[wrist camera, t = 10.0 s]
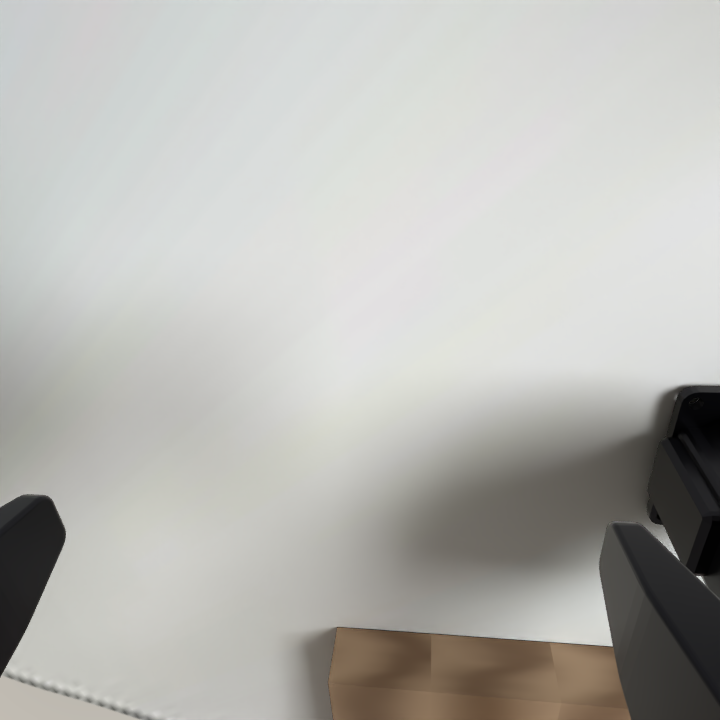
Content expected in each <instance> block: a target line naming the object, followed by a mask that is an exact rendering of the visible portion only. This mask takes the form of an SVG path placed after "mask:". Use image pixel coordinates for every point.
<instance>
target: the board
mask: <svg viewBox="0 0 720 720" xmlns="http://www.w3.org/2000/svg"><path fill="white" fill-rule="evenodd" d="M328 687H329V694H330V701H331V708H332V714H333V720H631V717H630V714H629V710H628V707H627V704H626V700H625V697H624V694H623V690H622V686H621V682H620V679H619V674H618V669H617V664H616V659H615V654H614V649H613V647H603V646H590V645H576V644H562V643H548V642H534V641H520V640H506V639H493V638H479V637H465V636H451V635H437V634H423V633H409V632H396V631H382V630H368V629H354V628H340V627H337V631H336V637H335V644H334V650H333V656H332V662H331V668H330V674H329V680H328Z"/></svg>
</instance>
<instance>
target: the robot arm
mask: <svg viewBox="0 0 720 720" xmlns="http://www.w3.org/2000/svg"><path fill="white" fill-rule="evenodd" d="M695 398H699V399H698V401H696V402H695V403H691V404H690V403H689V402H690V401H691V400H693V399H695ZM647 491H648V493H649V495H650V498H649V501H648V505H647V513H648V515H649V518H650V520H651V521H652V522H653V523H655V524H660V525H664V527H665V529H666V532H667V534H668V536H669V538H670V540H671V542H672V545H673V547H674V549H675V551H676V553H677V555H678V557H679V560H680V561H679V560H678V559H677V558H676V557H675V556H674V555H673V554H672V553H671V552H670V551H669V550H668V549H667V548H666V547H665V546H664V545H663V544H662V543H661V542H660V541H658V540H657V539H656V538H655V537H654V536H653V535H652V534H651V533H650V532H649V531H648V530H647V529H646V528H645V527H644V526H643V525H641V524H639V523H637V522H623V521H613V522H610V523H609V525H608V526H607V529H606V533H605V538H604V542H603V546H602V550H601V555H600V560H599V570H600V578H601V583H602V589H603V594H604V600H605V605H606V610H607V616H608V621H609V627H610V632H611V638H612V643H613V649H614V654H615V659H616V664H617V669H618V674H619V679H620V682H621V686H622V690H623V694H624V697H625V700H626V704H627V707H628V710H629V714H630V717H631V720H720V386H692V387H688V388H686V389H684V390H682V391H681V392H680V393H679V395H678V397H677V400H676V404H675V407H674V411H673V414H672V418H671V422H670V425H669V429H668V433H667V436H666V437H665V438H664V439H663V440H662V441H661V442H660V443H659V447H658V451H657V454H656V458H655V462H654V465H653V469H652V473H651V476H650V480H649V484H648V488H647ZM65 538H66V531H65V527H64V525H63V523H62V520H61V518H60V516H59V514H58V511H57V509H56V507H55V505H54V502H53V501H52V499H51V498H50V497H48V496H46V495H32V494H27V495H22V496H20V497H18V498H16V499H14V500H12V501H11V502H9V503H7V504H5V505H4V506H2V507H0V677H1V675H2V673H3V671H4V670H5V668H6V666H7V664H8V662H9V661H10V659H11V657H12V655H13V653H14V652H15V650H16V648H17V646H18V644H19V642H20V640H21V639H22V637H23V635H24V633H25V631H26V629H27V627H28V625H29V622H30V620H31V618H32V616H33V614H34V612H35V609H36V607H37V605H38V602H39V600H40V598H41V596H42V593H43V591H44V589H45V586H46V584H47V582H48V580H49V577H50V575H51V573H52V571H53V568H54V566H55V564H56V561H57V559H58V557H59V555H60V552H61V550H62V548H63V545H64V543H65ZM696 576H701V577H702V579H703V581H704V583H705V584H704V583H703V582H702V581H700V580H699V579H698V578H697V577H696Z"/></svg>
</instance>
